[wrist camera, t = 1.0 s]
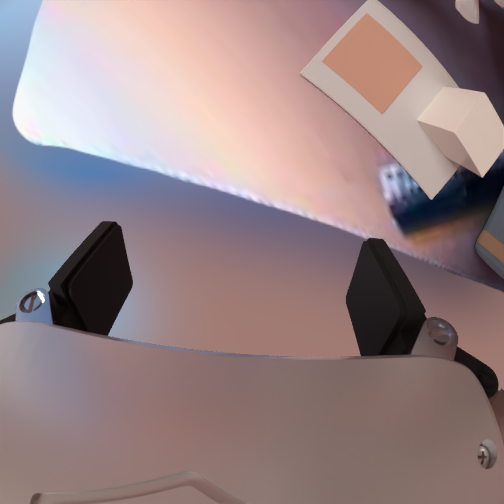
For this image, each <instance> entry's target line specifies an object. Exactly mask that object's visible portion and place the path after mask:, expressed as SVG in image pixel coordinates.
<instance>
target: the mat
mask: <svg viewBox="0 0 504 504" xmlns="http://www.w3.org/2000/svg"><path fill="white" fill-rule="evenodd" d="M300 75H301V76H303V77H304V78H305V79H307V80H308V81H309V82H311V83H312V84H313V85H315V86H316V87H317V88H319V89H320V90H321V91H322V92H324V93H325V94H326V95H327V96H329V97H330V98H331V99H332V100H333V101H335V102H336V103H337V104H338V105H339V106H341V107H342V108H343V109H344V110H345V111H346V112H347V113H349V114H350V115H351V116H352V117H353V118H354V119H355V120H356V121H358V122H359V123H360V124H361V125H362V126H363V127H364V128H365V129H366V130H367V131H368V132H369V133H370V134H371V135H372V136H373V137H374V138H375V139H376V140H377V141H378V142H379V143H380V144H381V145H382V146H383V147H384V148H385V149H386V150H387V151H388V152H389V153H390V154H391V155H392V156H393V157H394V158H395V159H396V160H397V161H398V162H399V163H400V165H401V166H402V167H403V168H404V169H405V170H406V171H407V172H408V173H409V175H410V176H411V177H412V178H413V179H414V180H415V182H416V183H417V184H418V185H419V186H420V187H421V189H422V190H423V191H424V192H425V194H426V195H427V196H428V197H429V199H431V200H432V199H433V198H434V197H435V195H436V194H437V193H438V192H439V191H440V190H441V188H442V187H443V186H444V185H445V184H446V183H447V181H448V180H449V179H450V178H451V177H452V175H453V174H454V173H455V172H456V171H457V169H458V168H459V167H460V166H461V165H460V164H458V163H456V162H454V161H452V160H451V159H449V158H447V157H445V156H444V154H443V153H442V152H441V150H440V149H439V148H438V146H437V145H436V144H435V142H434V141H433V140H432V138H431V137H430V136H429V135H428V133H427V132H426V131H425V130H424V128H423V127H422V126H421V125H420V124H419V122H418V121H417V119H418V118H419V117H420V115H421V114H422V113H423V112H424V111H425V109H426V108H427V107H428V106H429V104H430V103H431V102H432V101H433V100H434V98H435V97H436V96H437V95H438V93H439V92H440V91H441V90H442V88H443V87H451V88H459V87H458V86H457V84H456V83H455V82H454V80H453V79H452V78H451V76H450V75H449V74H448V72H447V71H446V70H445V69H444V67H443V66H442V65H441V64H440V62H439V61H438V60H437V59H436V58H435V56H434V55H433V54H432V53H431V52H430V51H429V50H428V48H427V47H426V46H425V45H424V44H423V43H422V42H421V41H420V40H419V39H418V38H417V37H416V36H415V35H414V34H413V33H412V32H411V31H410V30H409V29H408V28H407V27H406V26H405V25H404V24H403V23H402V22H401V21H400V20H399V19H398V18H397V17H396V16H395V15H394V14H393V13H391V12H390V11H389V10H388V9H387V8H386V7H385V6H383V5H382V4H381V3H380V2H379V1H378V0H367V1H366V2H365V3H364V4H363V5H362V6H361V7H360V8H359V9H358V10H357V11H356V12H355V13H354V14H353V15H352V16H351V17H350V18H349V19H348V20H347V22H346V23H345V24H344V25H343V26H342V27H341V28H340V29H339V30H338V31H337V32H336V33H335V34H334V35H333V36H332V38H331V39H330V40H329V41H328V42H327V43H326V44H325V45H324V46H323V47H322V49H321V50H320V51H319V52H318V53H317V54H316V55H315V56H314V58H313V59H312V60H311V61H310V62H309V63H308V64H307V66H306V67H305V68H304V69H303V70H302V71H301V73H300ZM459 89H460V88H459Z"/></svg>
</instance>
